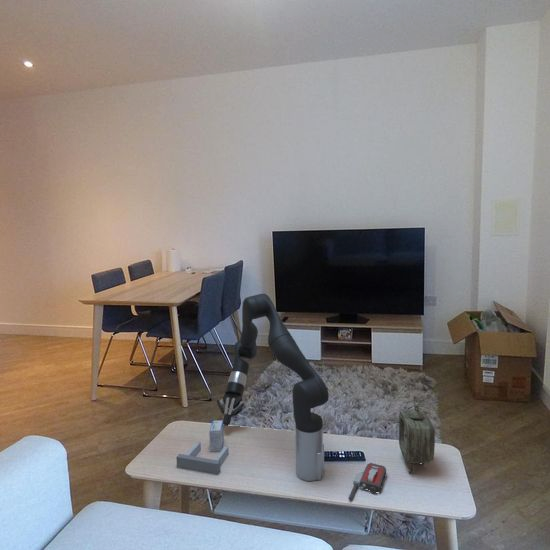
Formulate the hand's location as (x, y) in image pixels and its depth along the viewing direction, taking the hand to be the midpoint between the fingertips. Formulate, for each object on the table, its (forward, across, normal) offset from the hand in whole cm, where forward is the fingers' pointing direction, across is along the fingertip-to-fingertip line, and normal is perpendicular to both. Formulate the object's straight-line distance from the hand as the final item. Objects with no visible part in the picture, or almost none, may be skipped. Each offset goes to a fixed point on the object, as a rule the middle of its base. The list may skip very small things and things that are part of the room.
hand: (225, 424), depth 167 cm
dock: (+16, 0, -10) cm, 19 cm away
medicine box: (+9, 0, -3) cm, 10 cm away
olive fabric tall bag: (+4, +73, +3) cm, 73 cm away
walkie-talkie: (+16, +58, -8) cm, 61 cm away
